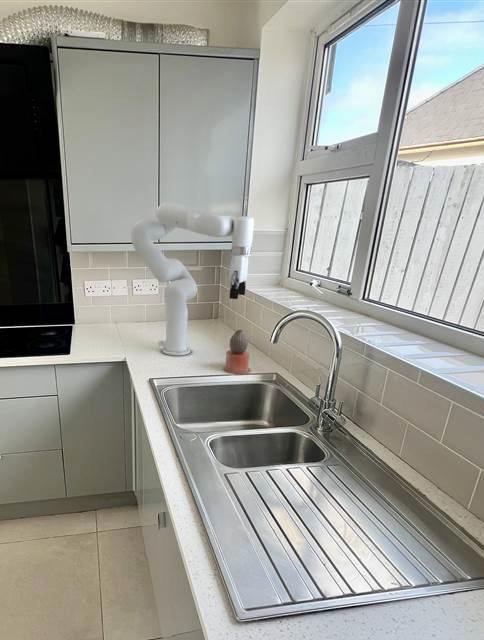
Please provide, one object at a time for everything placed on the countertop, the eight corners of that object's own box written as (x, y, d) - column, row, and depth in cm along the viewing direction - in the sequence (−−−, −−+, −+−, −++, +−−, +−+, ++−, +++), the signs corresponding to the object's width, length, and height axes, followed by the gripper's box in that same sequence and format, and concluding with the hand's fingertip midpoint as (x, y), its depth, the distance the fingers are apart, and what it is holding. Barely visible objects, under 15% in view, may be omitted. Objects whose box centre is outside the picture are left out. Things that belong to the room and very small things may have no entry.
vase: (246, 355, 156) (248, 333, 152) (228, 354, 157) (230, 332, 154) (246, 350, 162) (248, 328, 158) (229, 349, 163) (230, 328, 160)
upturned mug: (245, 374, 157) (246, 357, 154) (222, 371, 160) (223, 354, 157) (251, 365, 167) (253, 348, 164) (230, 362, 170) (231, 345, 167)
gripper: (238, 249, 163) (234, 292, 169) (224, 252, 148) (221, 299, 155) (256, 250, 160) (252, 294, 166) (244, 253, 145) (240, 301, 152)
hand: (237, 296), depth 161 cm, fingers open, 9 cm apart
